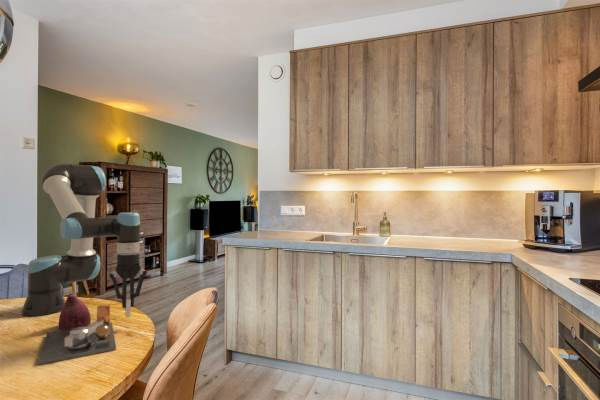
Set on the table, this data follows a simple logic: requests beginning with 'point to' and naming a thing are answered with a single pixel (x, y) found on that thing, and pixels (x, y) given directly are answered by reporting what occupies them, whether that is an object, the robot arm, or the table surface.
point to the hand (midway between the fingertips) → (127, 316)
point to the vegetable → (74, 314)
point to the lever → (88, 327)
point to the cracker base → (58, 351)
